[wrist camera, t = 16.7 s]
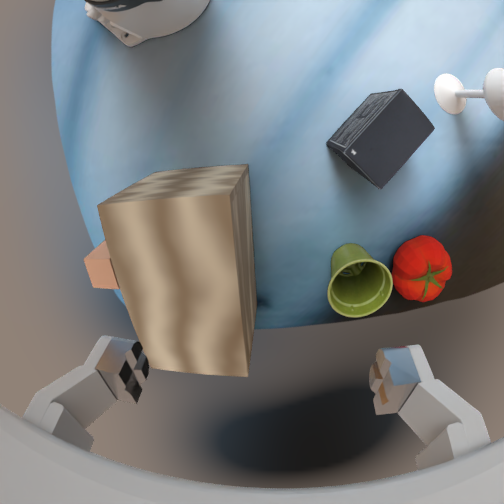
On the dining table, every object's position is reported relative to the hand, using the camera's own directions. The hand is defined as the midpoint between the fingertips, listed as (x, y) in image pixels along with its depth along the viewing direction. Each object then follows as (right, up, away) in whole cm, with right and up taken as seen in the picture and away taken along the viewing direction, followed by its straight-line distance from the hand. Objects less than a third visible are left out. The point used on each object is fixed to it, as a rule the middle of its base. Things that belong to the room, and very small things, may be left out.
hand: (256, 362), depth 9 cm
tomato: (+27, +3, +34) cm, 44 cm away
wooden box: (-7, +5, +36) cm, 37 cm away
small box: (+16, +20, +26) cm, 36 cm away
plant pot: (+15, +2, +35) cm, 38 cm away
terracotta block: (-21, +5, +37) cm, 43 cm away
